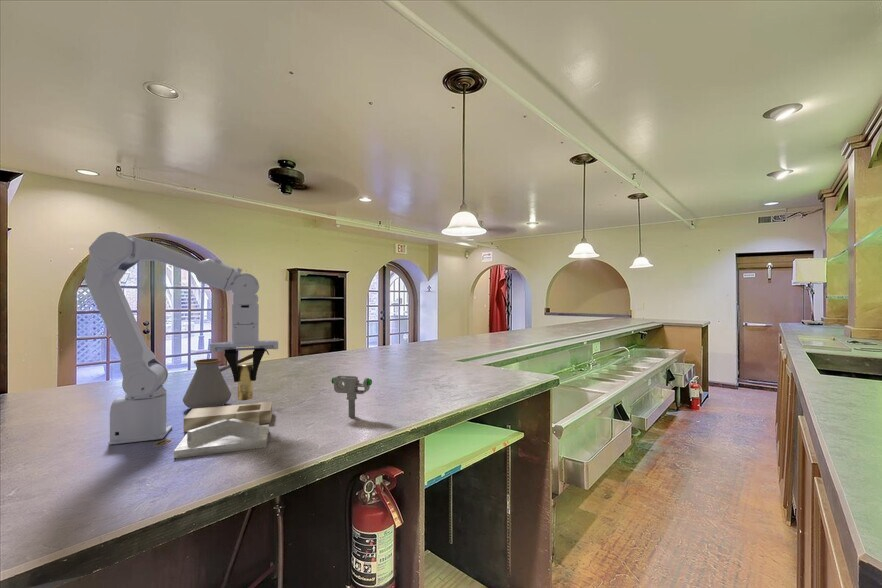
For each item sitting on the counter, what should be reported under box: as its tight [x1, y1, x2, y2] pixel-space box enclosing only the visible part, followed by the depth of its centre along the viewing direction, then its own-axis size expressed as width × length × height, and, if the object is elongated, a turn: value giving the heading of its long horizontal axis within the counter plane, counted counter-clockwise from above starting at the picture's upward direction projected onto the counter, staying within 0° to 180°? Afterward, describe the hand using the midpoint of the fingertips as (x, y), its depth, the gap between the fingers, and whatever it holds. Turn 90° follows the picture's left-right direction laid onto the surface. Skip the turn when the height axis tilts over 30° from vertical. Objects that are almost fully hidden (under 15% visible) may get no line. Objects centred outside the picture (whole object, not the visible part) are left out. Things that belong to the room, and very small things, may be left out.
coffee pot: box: [182, 349, 270, 411], centre depth 111 cm, size 21×12×15 cm, turn 123°
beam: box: [183, 401, 273, 433], centre depth 96 cm, size 18×8×3 cm, turn 111°
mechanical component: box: [331, 375, 373, 418], centre depth 100 cm, size 3×10×10 cm, turn 79°
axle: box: [237, 363, 254, 401], centre depth 94 cm, size 3×3×8 cm
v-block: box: [173, 419, 270, 459], centre depth 82 cm, size 16×10×4 cm, turn 110°
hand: (245, 380), depth 94 cm, fingers closed on axle, 3 cm apart
